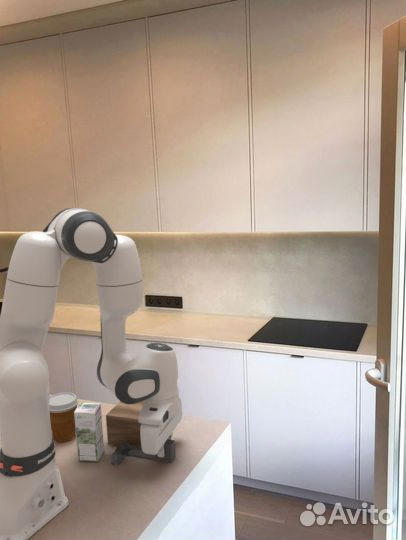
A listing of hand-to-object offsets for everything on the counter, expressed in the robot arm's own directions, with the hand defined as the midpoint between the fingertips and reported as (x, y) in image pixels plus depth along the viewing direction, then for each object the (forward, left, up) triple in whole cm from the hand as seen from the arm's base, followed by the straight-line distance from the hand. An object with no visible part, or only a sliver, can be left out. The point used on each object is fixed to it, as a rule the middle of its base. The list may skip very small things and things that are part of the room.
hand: (164, 451), depth 131 cm
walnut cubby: (+12, +13, -2) cm, 18 cm away
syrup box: (-4, +20, -2) cm, 21 cm away
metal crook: (-2, +5, -2) cm, 6 cm away
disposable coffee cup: (+3, +33, -2) cm, 33 cm away
